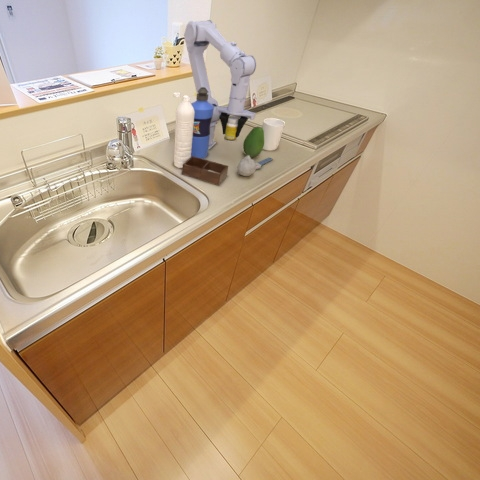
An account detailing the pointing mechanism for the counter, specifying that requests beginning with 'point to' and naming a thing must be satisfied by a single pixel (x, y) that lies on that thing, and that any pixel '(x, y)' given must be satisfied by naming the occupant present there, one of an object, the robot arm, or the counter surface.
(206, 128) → the water bottle
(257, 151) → the fruit
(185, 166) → the crate
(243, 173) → the figurine
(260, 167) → the wristwatch
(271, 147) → the mug
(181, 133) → the water bottle
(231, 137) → the supplement bottle
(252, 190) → the counter surface
